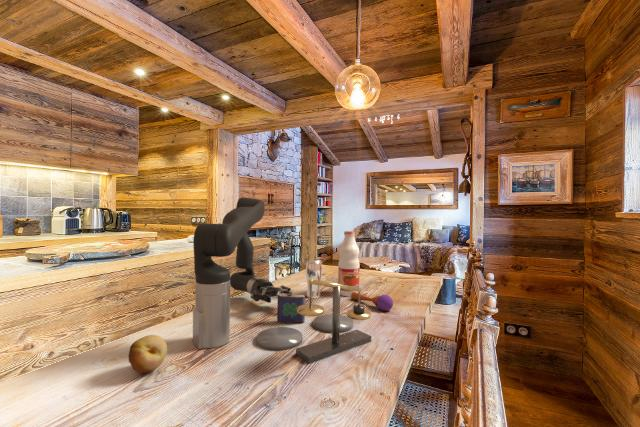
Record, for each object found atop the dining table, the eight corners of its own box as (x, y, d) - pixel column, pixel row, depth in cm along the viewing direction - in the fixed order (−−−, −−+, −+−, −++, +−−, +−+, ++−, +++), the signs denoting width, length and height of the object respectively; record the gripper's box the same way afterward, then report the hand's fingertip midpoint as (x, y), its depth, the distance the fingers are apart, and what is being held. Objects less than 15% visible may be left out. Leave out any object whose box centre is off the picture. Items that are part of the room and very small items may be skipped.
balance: (306, 366, 74) (307, 283, 74) (290, 354, 80) (292, 278, 80) (375, 340, 89) (376, 272, 89) (358, 332, 95) (359, 268, 95)
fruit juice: (350, 290, 144) (351, 230, 144) (363, 295, 136) (364, 232, 136) (333, 292, 139) (334, 230, 139) (346, 298, 131) (347, 232, 131)
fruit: (123, 382, 66) (124, 345, 66) (135, 363, 74) (135, 330, 74) (162, 377, 68) (163, 342, 68) (169, 360, 76) (170, 327, 76)
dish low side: (330, 336, 92) (330, 332, 92) (305, 322, 102) (305, 319, 102) (361, 326, 100) (361, 323, 100) (335, 315, 110) (335, 311, 110)
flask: (305, 321, 104) (305, 289, 104) (304, 324, 101) (304, 291, 101) (277, 320, 105) (278, 288, 104) (276, 323, 102) (276, 291, 101)
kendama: (359, 288, 133) (396, 296, 117) (358, 302, 132) (395, 312, 116) (349, 288, 129) (386, 295, 113) (348, 302, 128) (385, 312, 112)
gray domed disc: (270, 354, 80) (270, 350, 80) (249, 337, 90) (249, 333, 90) (311, 342, 88) (311, 338, 88) (287, 327, 98) (287, 323, 98)
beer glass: (319, 299, 129) (320, 263, 129) (303, 297, 131) (304, 262, 130) (322, 294, 136) (323, 260, 136) (307, 293, 138) (308, 259, 137)
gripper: (242, 280, 116) (262, 290, 104) (275, 276, 125) (298, 284, 112) (242, 300, 117) (262, 312, 104) (275, 294, 125) (297, 304, 112)
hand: (280, 297), depth 108 cm, fingers open, 8 cm apart
